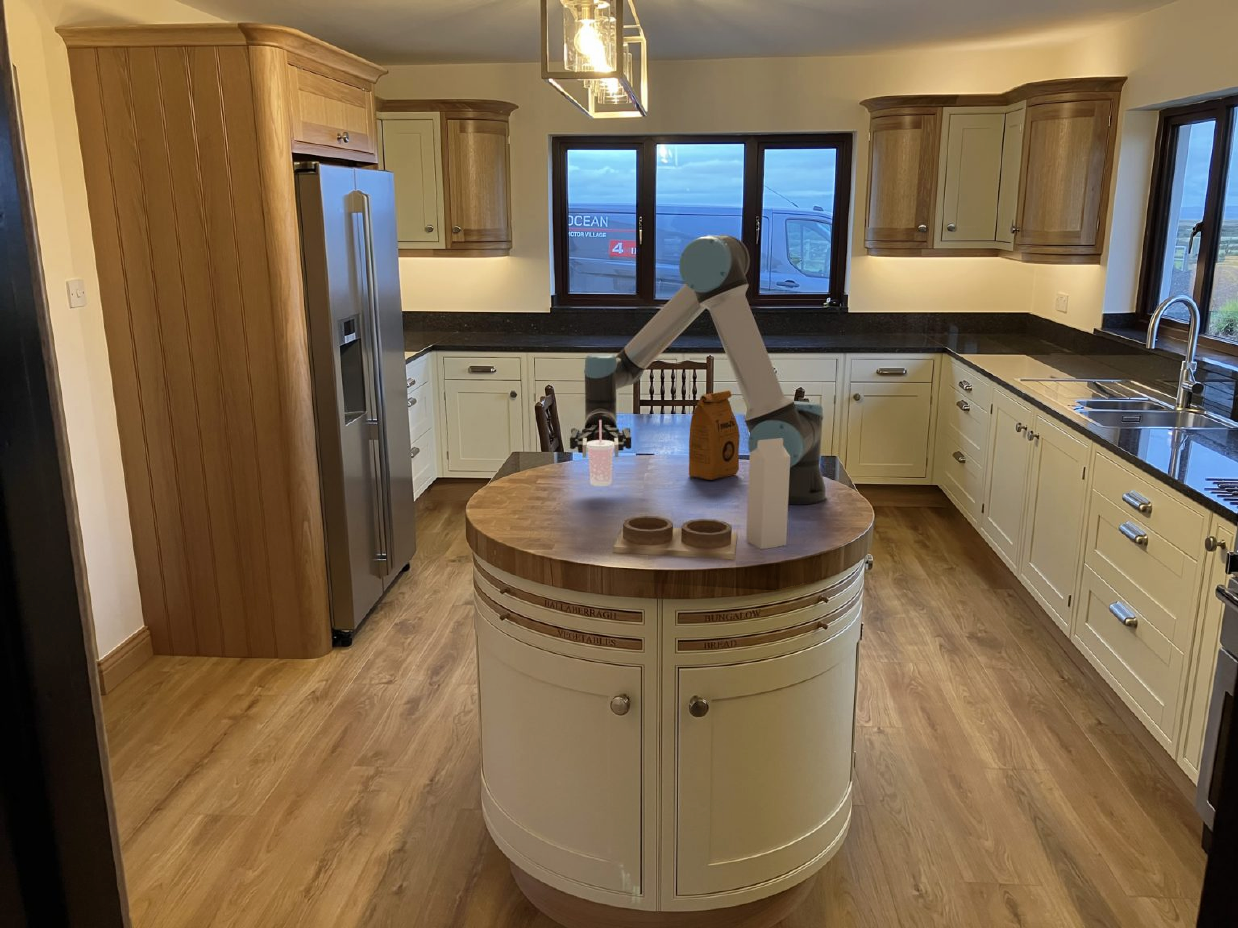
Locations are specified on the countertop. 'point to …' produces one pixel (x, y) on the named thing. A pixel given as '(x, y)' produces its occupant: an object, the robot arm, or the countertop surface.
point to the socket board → (677, 538)
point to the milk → (768, 494)
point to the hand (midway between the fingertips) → (600, 451)
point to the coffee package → (713, 438)
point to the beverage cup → (600, 460)
